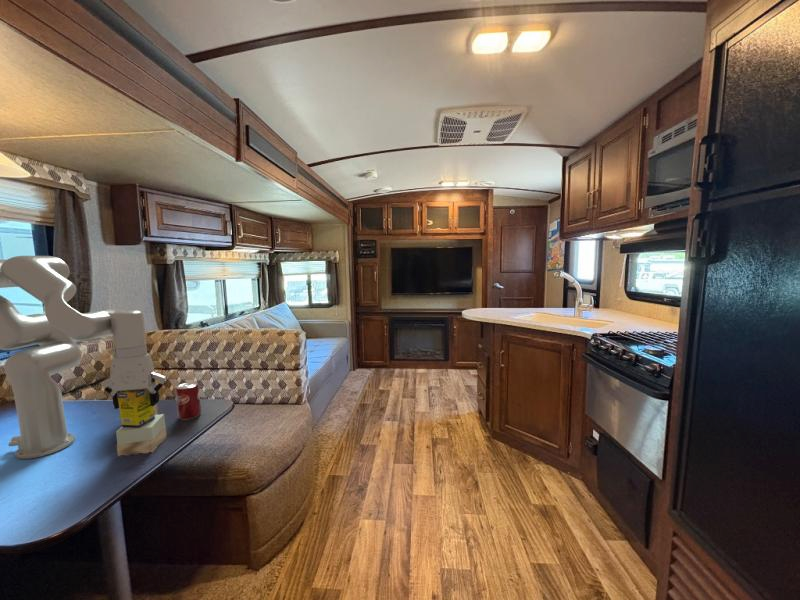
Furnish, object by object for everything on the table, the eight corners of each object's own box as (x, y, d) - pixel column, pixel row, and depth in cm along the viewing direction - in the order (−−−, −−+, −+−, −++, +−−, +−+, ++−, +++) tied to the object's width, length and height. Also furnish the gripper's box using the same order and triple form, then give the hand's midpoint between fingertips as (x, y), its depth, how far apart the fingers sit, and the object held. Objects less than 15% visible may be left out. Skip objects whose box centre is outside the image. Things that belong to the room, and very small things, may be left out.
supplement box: (139, 428, 98) (134, 393, 96) (121, 427, 99) (116, 393, 97) (156, 418, 104) (151, 385, 102) (138, 417, 104) (134, 385, 103)
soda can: (184, 422, 117) (181, 390, 115) (174, 417, 121) (171, 386, 119) (205, 414, 123) (202, 384, 121) (195, 410, 127) (192, 380, 125)
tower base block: (118, 457, 97) (116, 444, 97) (135, 440, 106) (134, 429, 105) (152, 453, 99) (150, 440, 98) (166, 437, 108) (165, 426, 107)
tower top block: (117, 444, 96) (115, 432, 96) (133, 429, 105) (131, 417, 105) (153, 439, 99) (151, 427, 98) (165, 425, 107) (164, 413, 107)
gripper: (88, 356, 93) (96, 413, 95) (156, 353, 96) (161, 408, 98) (107, 349, 101) (113, 402, 103) (169, 346, 104) (174, 398, 106)
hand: (137, 405), depth 101 cm, fingers open, 9 cm apart
